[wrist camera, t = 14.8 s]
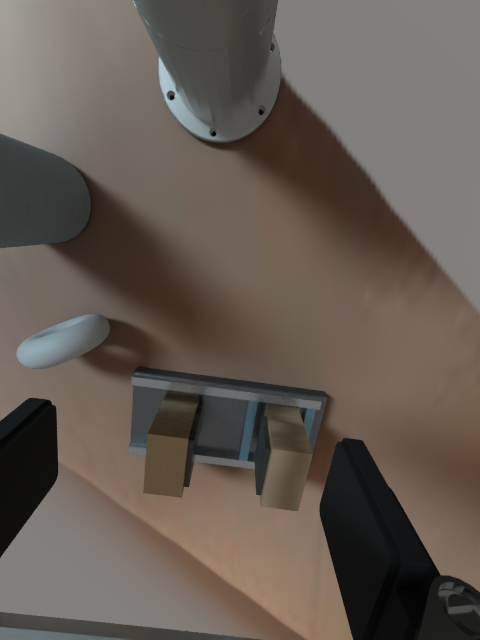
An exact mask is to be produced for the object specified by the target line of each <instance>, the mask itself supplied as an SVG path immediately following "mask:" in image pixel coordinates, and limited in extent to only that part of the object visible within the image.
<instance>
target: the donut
mask: <svg viewBox="0 0 480 640" xmlns="http://www.w3.org/2000/svg"><path fill="white" fill-rule="evenodd" d="M109 333H110V326H109V323H108V321H107V319H106V318H105V317H103V316H102V315H99V314H88V315H83V316H80V317H76V318H73V319H70V320H67V321H64V322H62V323H59V324H57V325H54V326H52V327H49V328H47V329H45V330H42V331H40V332H38V333H36V334H34V335H32V336H30V337H29V338H27V339H26V340H24V341H23V342H22V343H21V344H20V345H19V347H18V349H17V358H18V360H19V361H20V363H21V364H23V365H24V366H26V367H27V368H31V369H43V368H48V367H52V366H56V365H59V364H61V363H64V362H67V361H69V360H72V359H74V358H76V357H78V356H81V355H83V354H85V353H87V352H88V351H90V350H92V349H94V348H95V347H97V346H98V345H100V344H101V343H102V342H103V341H104V340H105V339H106V338H107V337H108V335H109Z"/></svg>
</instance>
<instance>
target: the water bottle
mask: <svg viewBox="0 0 480 640" xmlns="http://www.w3.org/2000/svg"><path fill="white" fill-rule="evenodd" d="M90 212H91V199H90V194H89V190H88V187H87V185H86V183H85V181H84V179H83V177H82V176H81V175H80V173H79V172H78V171H77V170H76V169H75V168H74V167H73V166H72V165H71V164H70V163H69V162H67V161H66V160H64V159H63V158H61V157H59V156H57V155H55V154H52V153H50V152H47V151H44V150H42V149H39V148H37V147H34V146H31V145H29V144H26V143H24V142H21V141H18V140H16V139H13V138H10V137H8V136H5V135H3V134H0V248H7V247H18V246H29V245H40V244H51V243H60V242H65V241H68V240H70V239H72V238H74V237H75V236H77V235H78V234H79V233H80V232H81V231H82V230H83V229H84V228H85V226H86V224H87V222H88V220H89V216H90Z"/></svg>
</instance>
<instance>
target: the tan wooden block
mask: <svg viewBox="0 0 480 640" xmlns="http://www.w3.org/2000/svg"><path fill="white" fill-rule="evenodd" d="M312 456H313V453H312V450H311V446H310V443H309V440H308V437H307V433H306V430H305V427H304V424H303V420H302V417H301V414H300V411H299V408H295V407H287V406H280V405H273V404H267V405H266V410H265V415H264V416H262V420H261V425H260V430H259V435H258V440H257V445H256V450H255V455H254V459H255V479H256V495H260V506H261V507H269V508H277V509H285V510H292V511H298V509H299V505H300V502H301V498H302V494H303V490H304V486H305V483H306V479H307V475H308V471H309V467H310V464H311V460H312Z"/></svg>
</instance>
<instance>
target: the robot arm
mask: <svg viewBox="0 0 480 640" xmlns="http://www.w3.org/2000/svg"><path fill="white" fill-rule="evenodd" d="M133 2H134V5H135V7H136V9H137V11H138V13H139V15H140V17H141V19H142V21H143V23H144V25H145V27H146V29H147V31H148V33H149V36H150V38H151V40H152V42H153V44H154V46H155V48H156V50H157V52H158V54H159V60H158V75H159V81H160V87H161V91H162V94H163V97H164V99H165V102H166V104H167V106H168V108H169V110H170V111H171V113H172V115H173V116H174V117H175V119H176V120H177V122H178V123H179V124H180V125H181V126H182V127H183V128H184V129H185V130H187V131H188V132H189V133H191V134H192V135H194V136H195V137H197V138H200V139H202V140H204V141H208V142H213V143H230V142H234V141H238V140H240V139H243V138H245V137H247V136H249V135H250V134H251V133H253V132H254V131H255V130H257V129H258V128H259V127H260V126H261V125H262V123H263V122H264V121H265V120H266V118H267V117H268V115H269V114H270V112H271V111H272V108H273V106H274V104H275V101H276V99H277V95H278V91H279V87H280V80H281V58H280V52H279V47H278V44H277V42H276V39H275V36H274V33H273V29H274V23H275V16H276V10H277V4H278V0H133ZM270 50H271V51H272V53H270ZM172 96H174V97H175V99H174V100H171V97H172ZM259 111H263V114H262V115H260V114H259ZM213 132H215V133H216V136H215V137H213V136H212V133H213ZM57 476H58V449H57V416H56V407H55V406H54V405H52V403H51V401H50V400H45V399H38V398H29V399H27V400H26V401H25V402H23V403H22V404H21V405H20V406H18V407H17V408H16V409H15V410H14V411H12V412H11V413H10V414H9V415H7V416H6V417H5V418H4V419H2V420H1V421H0V557H1V556H2V555H3V553H4V552H5V550H6V549H7V548H8V546H9V545H10V543H11V542H12V541H13V539H14V538H15V537H16V535H17V534H18V533H19V531H20V530H21V529H22V527H23V526H24V524H25V523H26V522H27V520H28V519H29V518H30V516H31V515H32V513H33V512H34V510H35V509H36V508H37V507H38V505H39V504H40V502H41V501H42V500H43V498H44V497H45V496H46V494H47V493H48V492H49V490H50V489H51V488H52V486H53V485H54V483H55V481H56V479H57ZM320 517H321V521H322V525H323V529H324V532H325V536H326V540H327V543H328V547H329V551H330V555H331V558H332V562H333V566H334V570H335V573H336V577H337V581H338V585H339V588H340V592H341V596H342V600H343V603H344V607H345V611H346V615H347V618H348V622H349V626H350V629H351V633H352V637H353V640H480V592H479V591H478V590H476V589H475V588H474V587H472V586H471V585H470V584H468V583H466V582H464V581H462V580H461V579H459V578H455V577H452V576H449V575H440V573H439V571H438V570H437V568H436V566H435V564H434V563H433V561H432V559H431V557H430V556H429V554H428V552H427V550H426V549H425V547H424V545H423V543H422V542H421V540H420V538H419V536H418V534H417V533H416V531H415V529H414V527H413V526H412V524H411V522H410V520H409V519H408V517H407V515H406V513H405V512H404V510H403V508H402V506H401V504H400V503H399V501H398V499H397V497H396V496H395V494H394V492H393V491H392V490H391V488H389V487H388V485H387V483H386V481H385V480H384V478H383V476H382V474H381V472H380V471H379V469H378V467H377V465H376V464H375V462H374V460H373V458H372V456H371V455H370V453H369V451H368V449H367V447H366V446H365V444H364V442H363V441H362V440H356V439H348V438H344V439H343V440H342V442H338V443H337V445H336V448H335V451H334V455H333V459H332V462H331V466H330V470H329V473H328V477H327V480H326V484H325V488H324V491H323V495H322V498H321V502H320ZM0 640H259V639H251V638H243V637H234V636H225V635H216V634H207V633H198V632H188V631H179V630H170V629H160V628H151V627H142V626H132V625H122V624H113V623H103V622H94V621H85V620H74V619H65V618H54V617H44V616H33V615H24V614H14V613H4V612H0Z"/></svg>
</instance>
